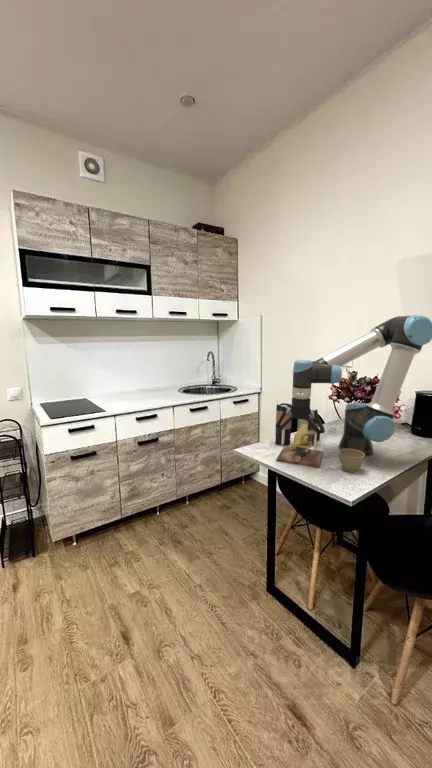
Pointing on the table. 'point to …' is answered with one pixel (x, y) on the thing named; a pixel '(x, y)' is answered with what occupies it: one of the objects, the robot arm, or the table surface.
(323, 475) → the table surface
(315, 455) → the base
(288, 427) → the travel mug
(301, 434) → the coupling
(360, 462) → the flower pot
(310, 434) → the coffee can
